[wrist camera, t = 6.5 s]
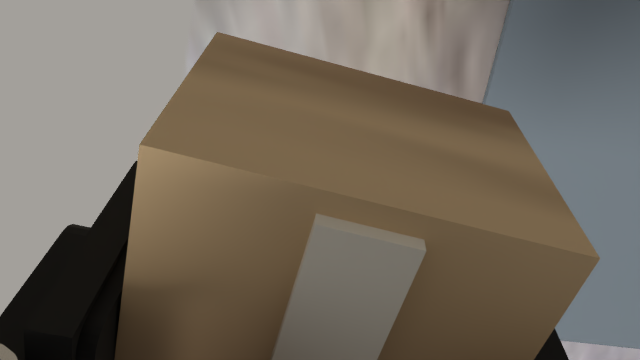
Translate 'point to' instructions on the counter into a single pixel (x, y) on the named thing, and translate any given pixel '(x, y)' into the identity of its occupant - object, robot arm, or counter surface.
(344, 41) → the counter surface
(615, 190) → the mat
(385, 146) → the taped cardboard box
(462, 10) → the counter surface
